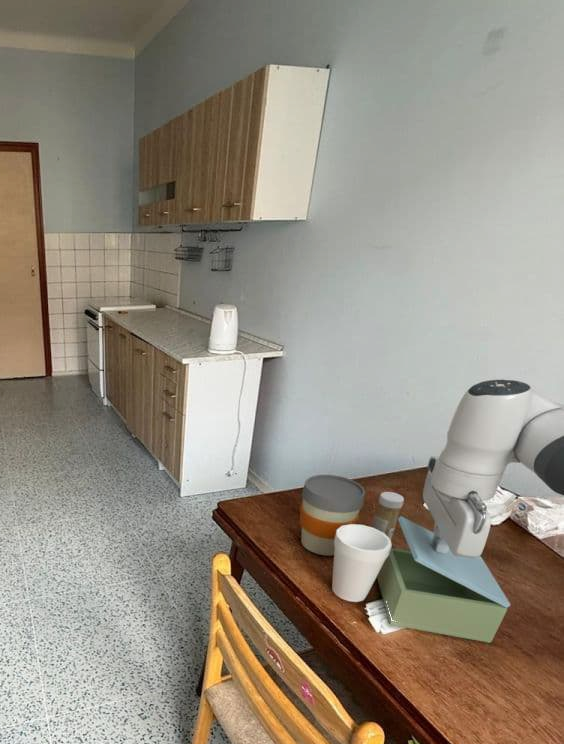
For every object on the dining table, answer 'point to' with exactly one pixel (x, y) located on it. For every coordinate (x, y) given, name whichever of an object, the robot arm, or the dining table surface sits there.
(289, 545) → the dining table surface
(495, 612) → the display box
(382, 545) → the foam cup
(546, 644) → the dining table surface
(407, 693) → the dining table surface
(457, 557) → the hatch
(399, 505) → the sprinkles bottle
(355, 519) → the reusable coffee cup
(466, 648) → the dining table surface
